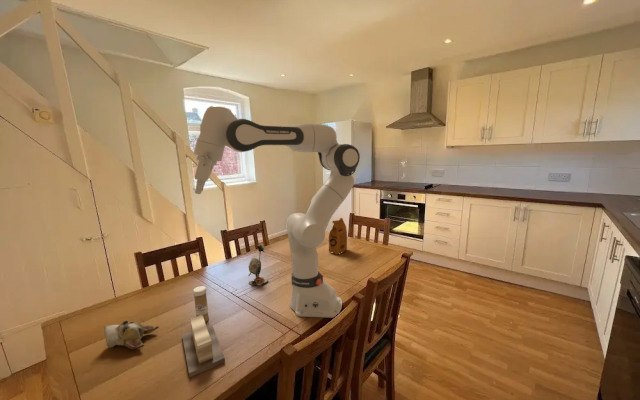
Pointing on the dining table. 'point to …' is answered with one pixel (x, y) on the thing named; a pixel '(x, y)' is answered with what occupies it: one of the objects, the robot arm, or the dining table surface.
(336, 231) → the coffee package
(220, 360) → the ridge stand
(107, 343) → the ceramic sculpture
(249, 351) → the dining table surface
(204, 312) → the sprinkles bottle
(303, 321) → the dining table surface
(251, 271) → the bird figurine
